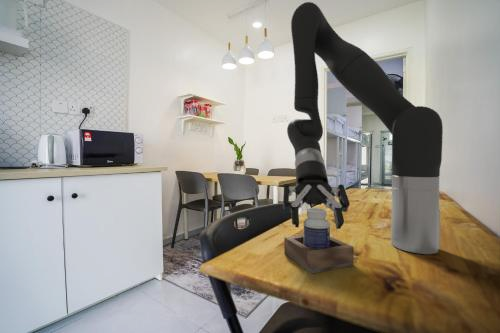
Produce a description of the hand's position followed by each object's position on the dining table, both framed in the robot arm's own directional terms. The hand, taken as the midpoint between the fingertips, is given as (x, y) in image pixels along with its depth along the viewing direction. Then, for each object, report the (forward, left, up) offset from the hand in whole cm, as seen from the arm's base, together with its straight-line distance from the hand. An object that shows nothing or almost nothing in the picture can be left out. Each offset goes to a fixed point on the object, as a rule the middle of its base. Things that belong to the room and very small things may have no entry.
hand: (318, 226), depth 47 cm
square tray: (0, -1, -7) cm, 7 cm away
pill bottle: (0, -1, -7) cm, 7 cm away
